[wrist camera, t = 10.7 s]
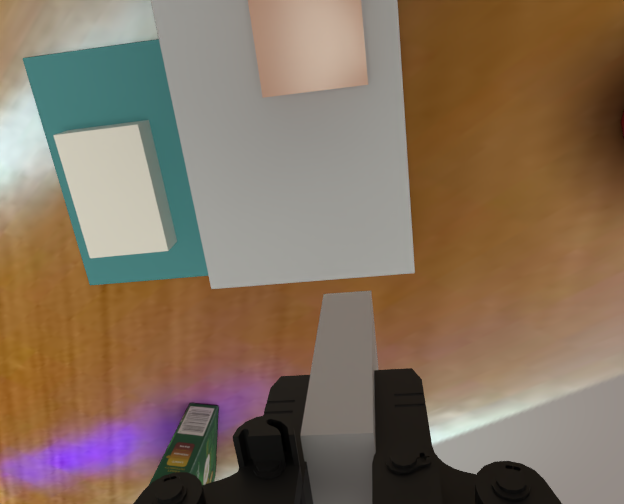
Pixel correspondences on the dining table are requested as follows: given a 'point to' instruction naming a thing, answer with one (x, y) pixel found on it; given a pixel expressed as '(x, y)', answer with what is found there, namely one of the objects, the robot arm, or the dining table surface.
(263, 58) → the salmon pink block
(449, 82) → the dining table surface
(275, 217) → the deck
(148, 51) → the mat
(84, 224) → the cream rectangular block
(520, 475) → the robot arm
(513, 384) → the dining table surface
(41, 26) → the dining table surface
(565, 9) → the dining table surface
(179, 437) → the coffee box
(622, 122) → the plastic cup
